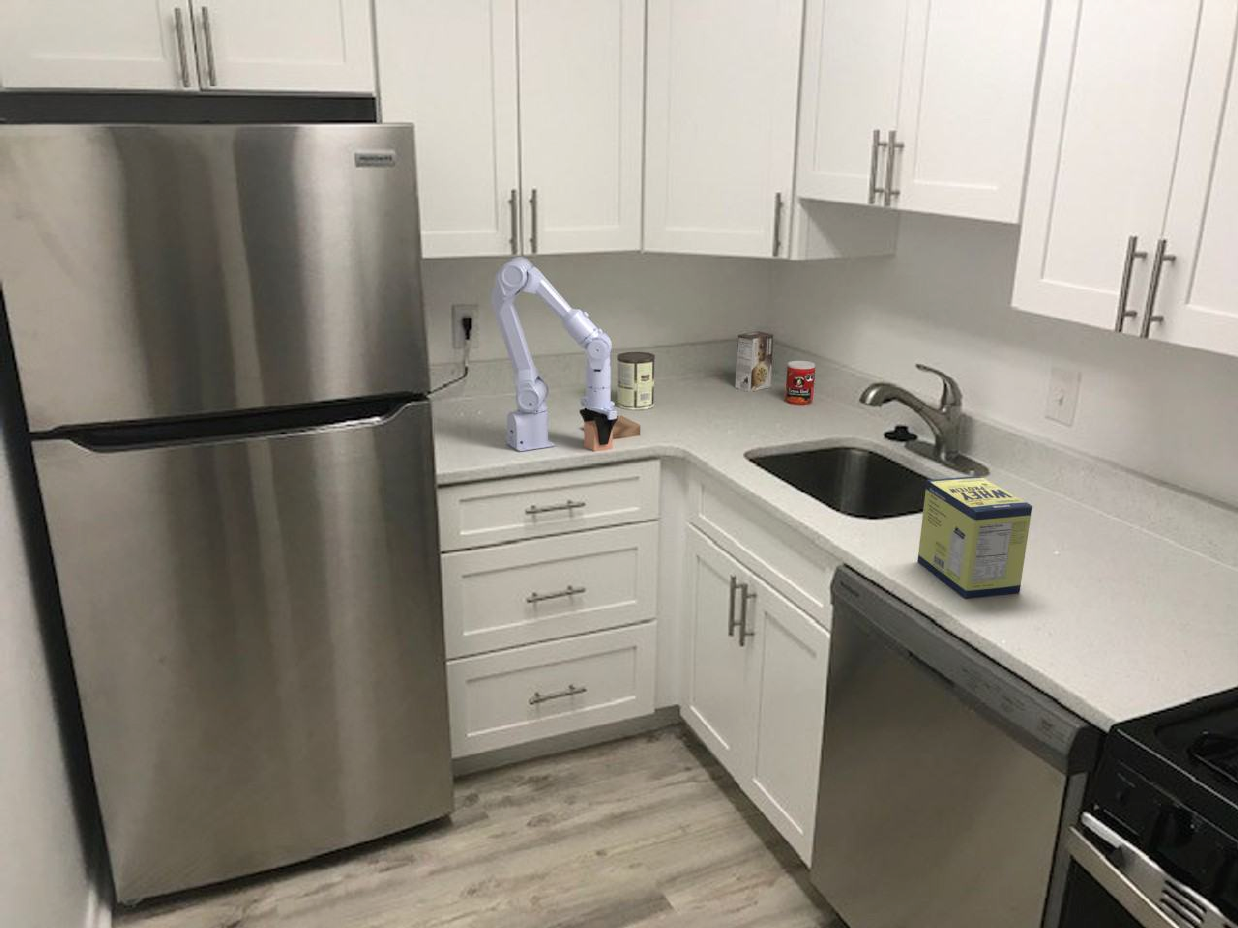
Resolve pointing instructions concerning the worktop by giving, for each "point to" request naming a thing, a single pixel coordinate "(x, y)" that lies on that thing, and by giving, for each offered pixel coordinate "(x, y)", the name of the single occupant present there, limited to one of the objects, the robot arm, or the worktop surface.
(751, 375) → the brown white food box
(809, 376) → the canned food
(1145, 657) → the worktop surface
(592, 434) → the terracotta block
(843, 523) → the worktop surface
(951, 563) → the protein box
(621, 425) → the walnut base
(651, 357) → the coffee can
